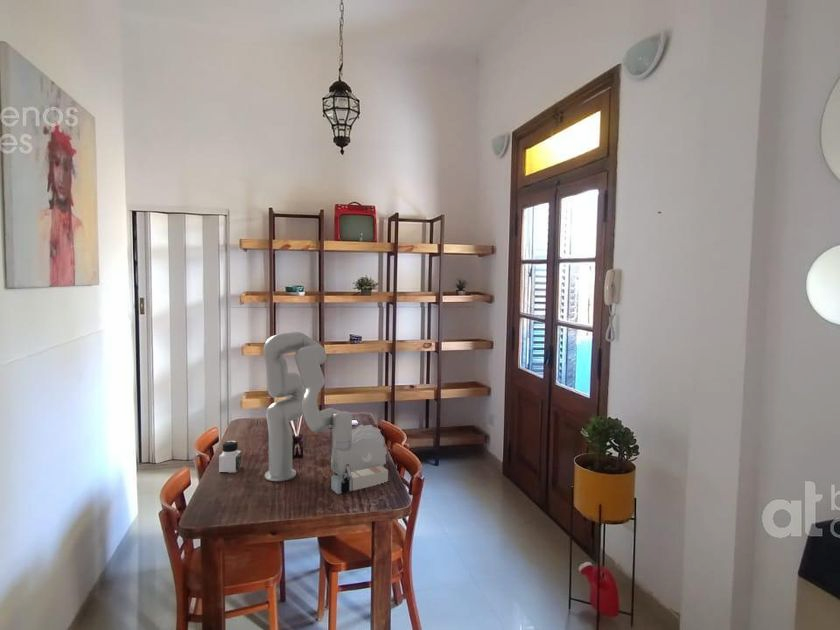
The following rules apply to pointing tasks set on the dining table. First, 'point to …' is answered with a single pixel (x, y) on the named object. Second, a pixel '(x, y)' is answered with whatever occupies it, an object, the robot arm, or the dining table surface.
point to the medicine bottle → (230, 457)
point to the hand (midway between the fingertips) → (341, 488)
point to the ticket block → (368, 477)
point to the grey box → (339, 483)
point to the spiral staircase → (367, 448)
